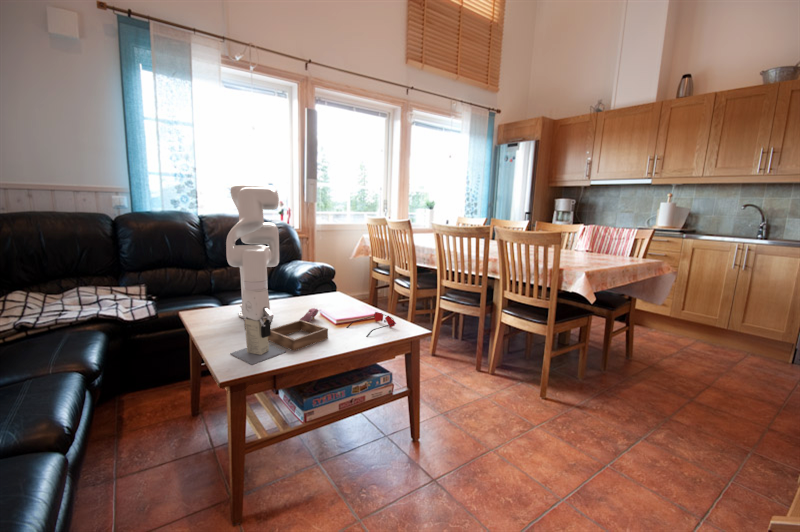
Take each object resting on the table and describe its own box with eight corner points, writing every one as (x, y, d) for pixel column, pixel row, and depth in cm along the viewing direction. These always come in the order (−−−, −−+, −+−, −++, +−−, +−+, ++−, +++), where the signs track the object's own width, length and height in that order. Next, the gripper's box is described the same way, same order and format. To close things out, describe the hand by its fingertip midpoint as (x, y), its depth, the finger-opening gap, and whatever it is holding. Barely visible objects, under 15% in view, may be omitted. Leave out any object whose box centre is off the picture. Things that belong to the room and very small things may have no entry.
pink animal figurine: (306, 328, 156) (312, 315, 155) (297, 323, 157) (303, 309, 155) (315, 321, 166) (321, 308, 164) (307, 316, 166) (313, 303, 165)
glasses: (396, 328, 156) (396, 317, 155) (366, 338, 144) (366, 326, 143) (375, 320, 166) (375, 310, 165) (345, 328, 154) (345, 317, 153)
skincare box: (269, 350, 128) (268, 317, 125) (260, 355, 124) (259, 321, 121) (254, 347, 130) (253, 315, 128) (245, 352, 126) (244, 318, 124)
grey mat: (230, 354, 125) (230, 353, 125) (263, 343, 135) (263, 342, 135) (252, 365, 117) (252, 363, 117) (285, 352, 128) (285, 351, 128)
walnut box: (267, 340, 138) (267, 330, 137) (301, 328, 151) (300, 319, 150) (294, 351, 129) (294, 340, 128) (327, 338, 142) (327, 328, 141)
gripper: (230, 282, 124) (233, 330, 127) (260, 291, 114) (262, 342, 117) (251, 279, 130) (253, 325, 133) (281, 287, 120) (282, 336, 123)
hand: (257, 333), depth 125 cm, fingers open, 9 cm apart
